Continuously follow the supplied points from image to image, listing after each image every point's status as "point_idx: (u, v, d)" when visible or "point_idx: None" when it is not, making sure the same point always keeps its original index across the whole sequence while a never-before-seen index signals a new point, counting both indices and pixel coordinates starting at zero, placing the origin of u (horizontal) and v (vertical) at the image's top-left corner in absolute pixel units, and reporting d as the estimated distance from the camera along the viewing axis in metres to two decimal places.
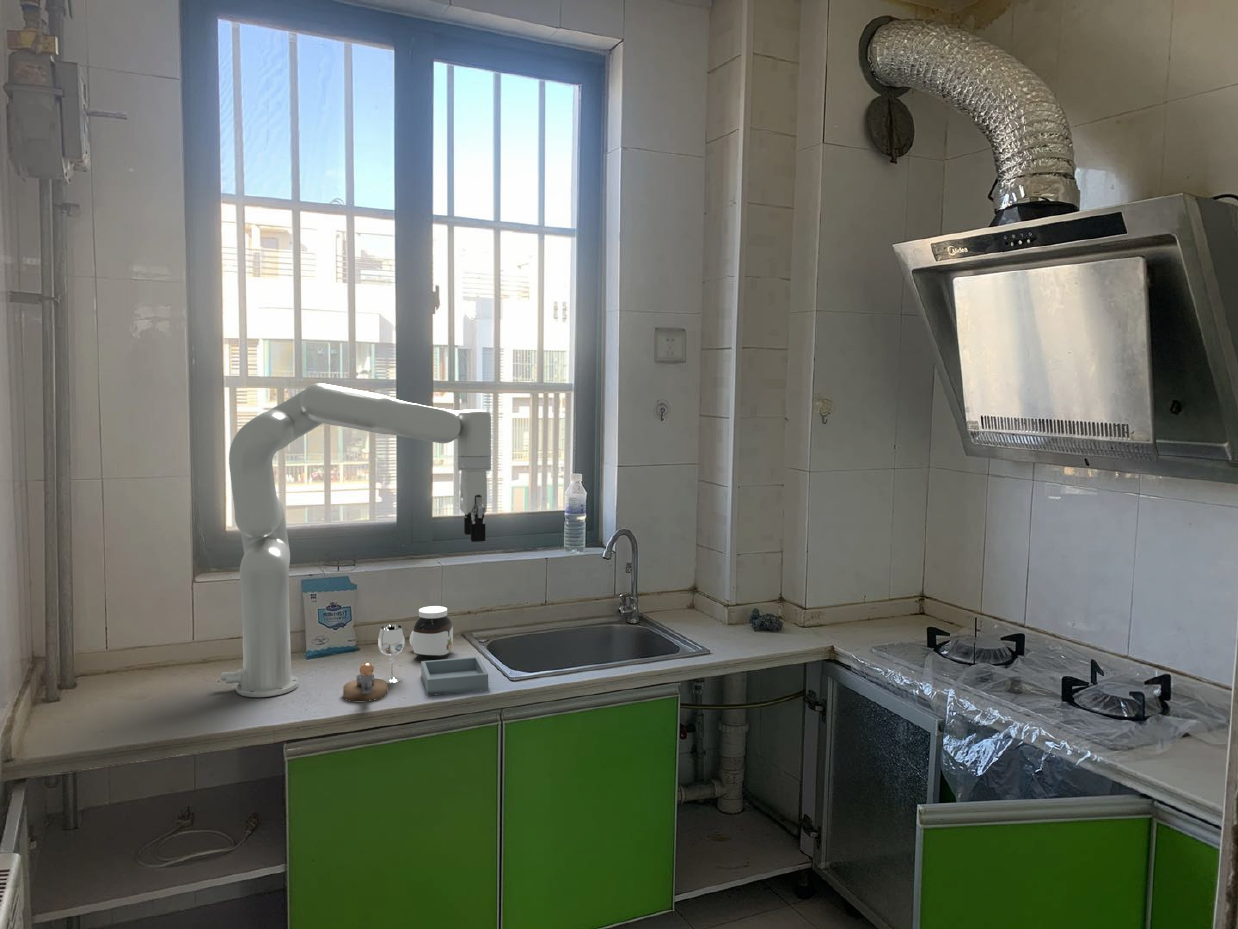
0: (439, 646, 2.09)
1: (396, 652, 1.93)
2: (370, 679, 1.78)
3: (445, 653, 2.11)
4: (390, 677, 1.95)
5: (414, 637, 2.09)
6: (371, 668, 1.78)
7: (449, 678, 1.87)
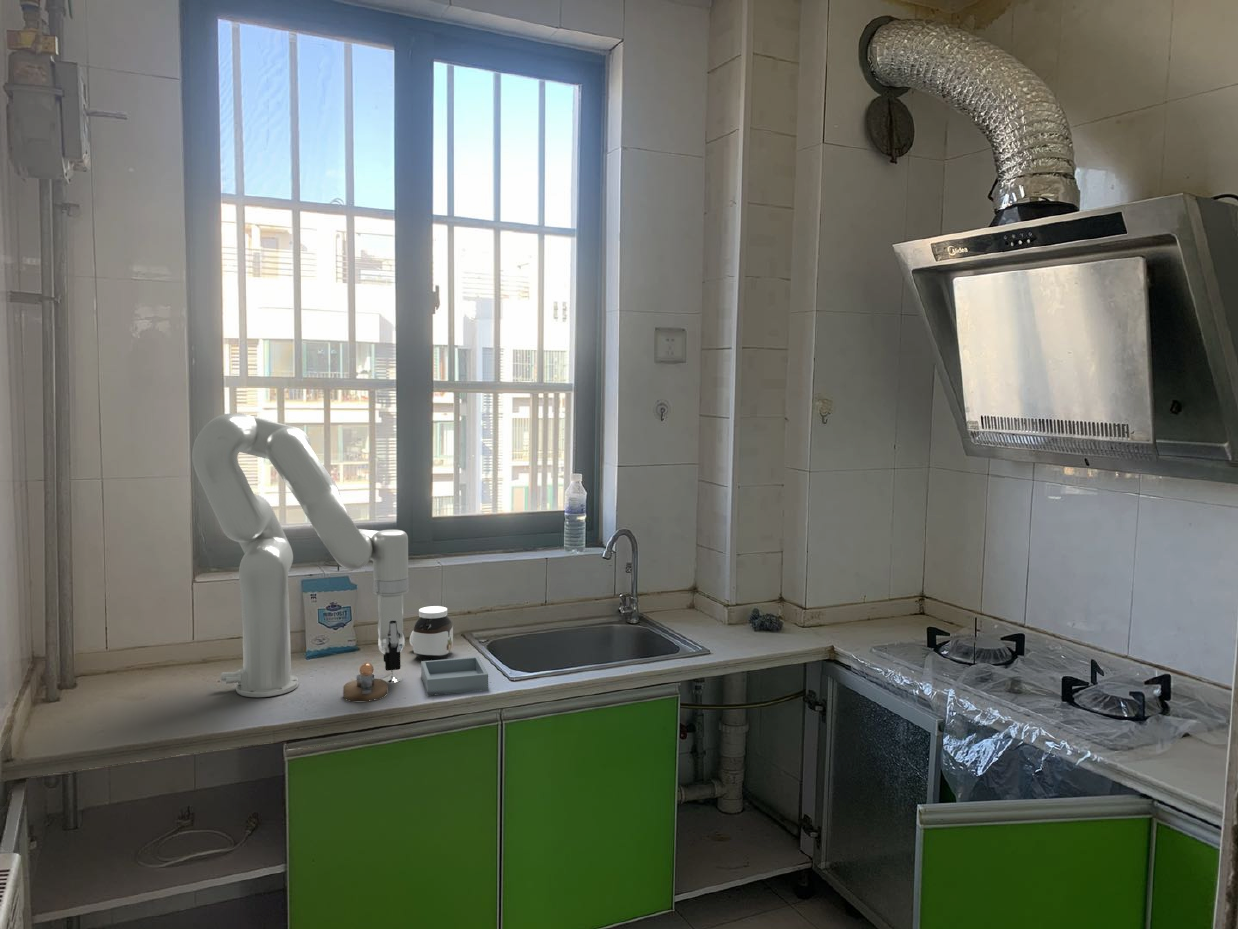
0: (439, 646, 2.09)
1: None
2: (370, 679, 1.78)
3: (445, 653, 2.11)
4: (390, 677, 1.95)
5: (414, 637, 2.09)
6: (371, 668, 1.78)
7: (449, 678, 1.87)
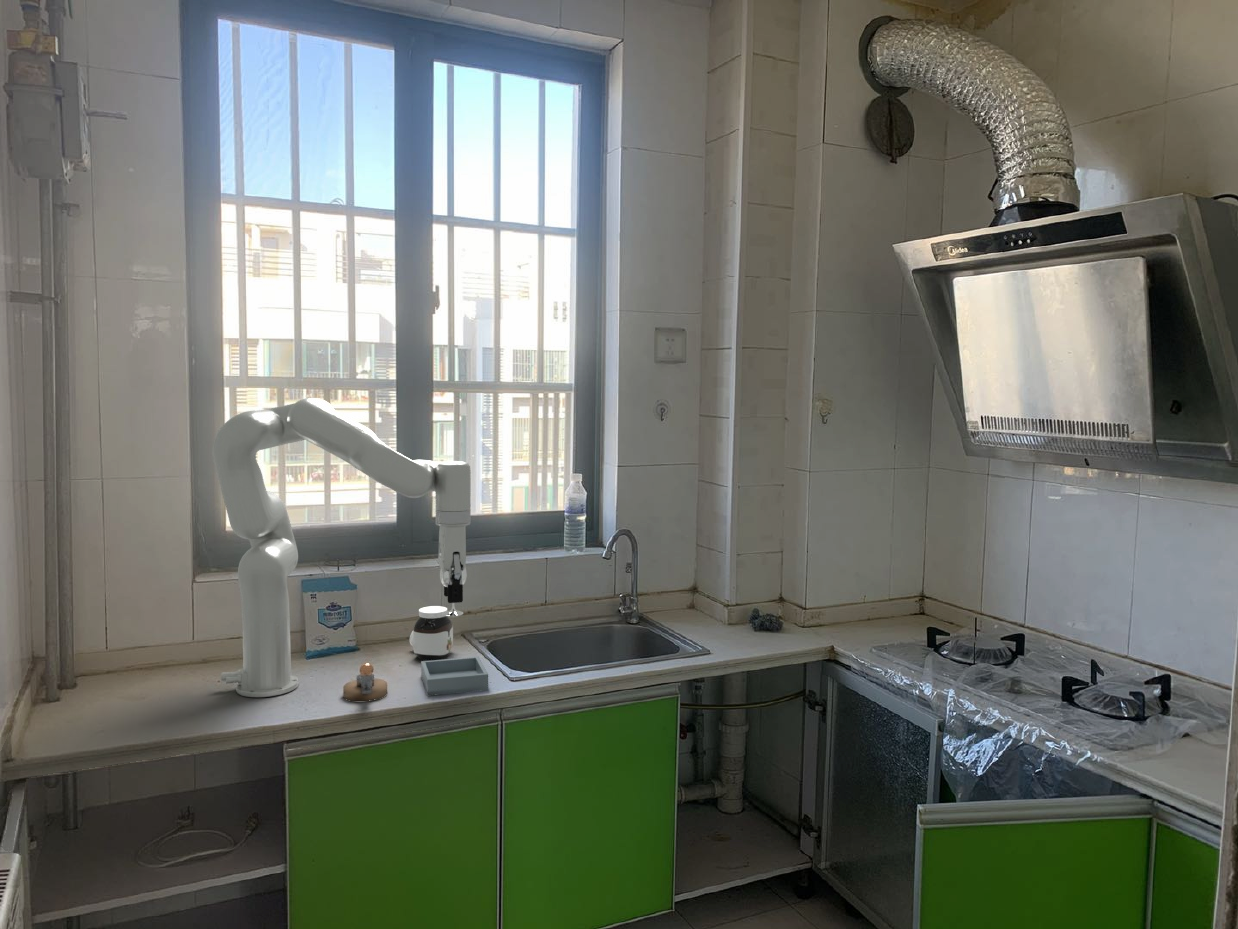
0: (439, 646, 2.09)
1: None
2: (370, 679, 1.78)
3: (445, 653, 2.11)
4: (452, 610, 1.92)
5: (414, 637, 2.09)
6: (371, 668, 1.78)
7: (449, 678, 1.87)
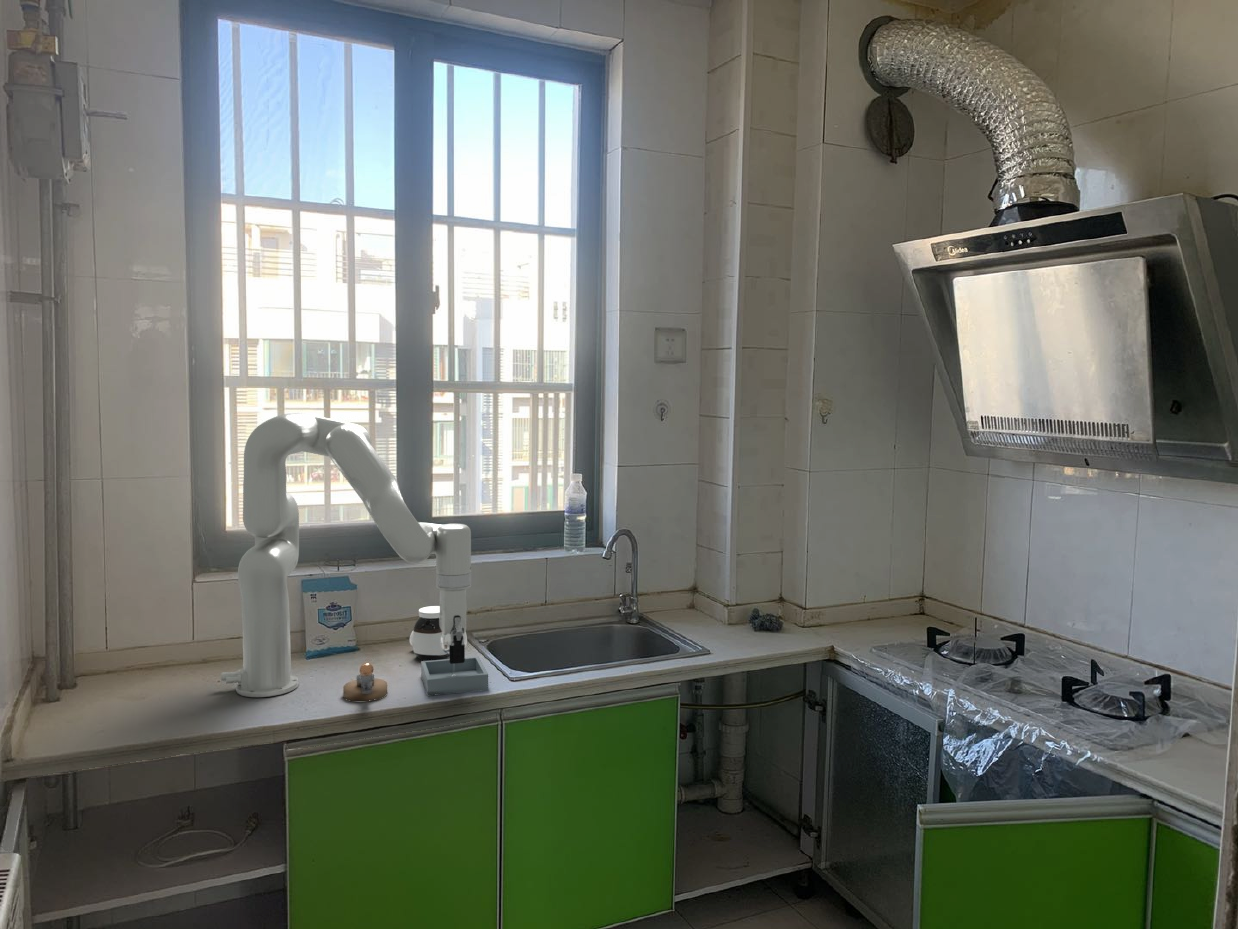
0: (439, 646, 2.09)
1: None
2: (370, 679, 1.78)
3: (445, 653, 2.11)
4: None
5: (414, 637, 2.09)
6: (371, 668, 1.78)
7: (449, 678, 1.87)
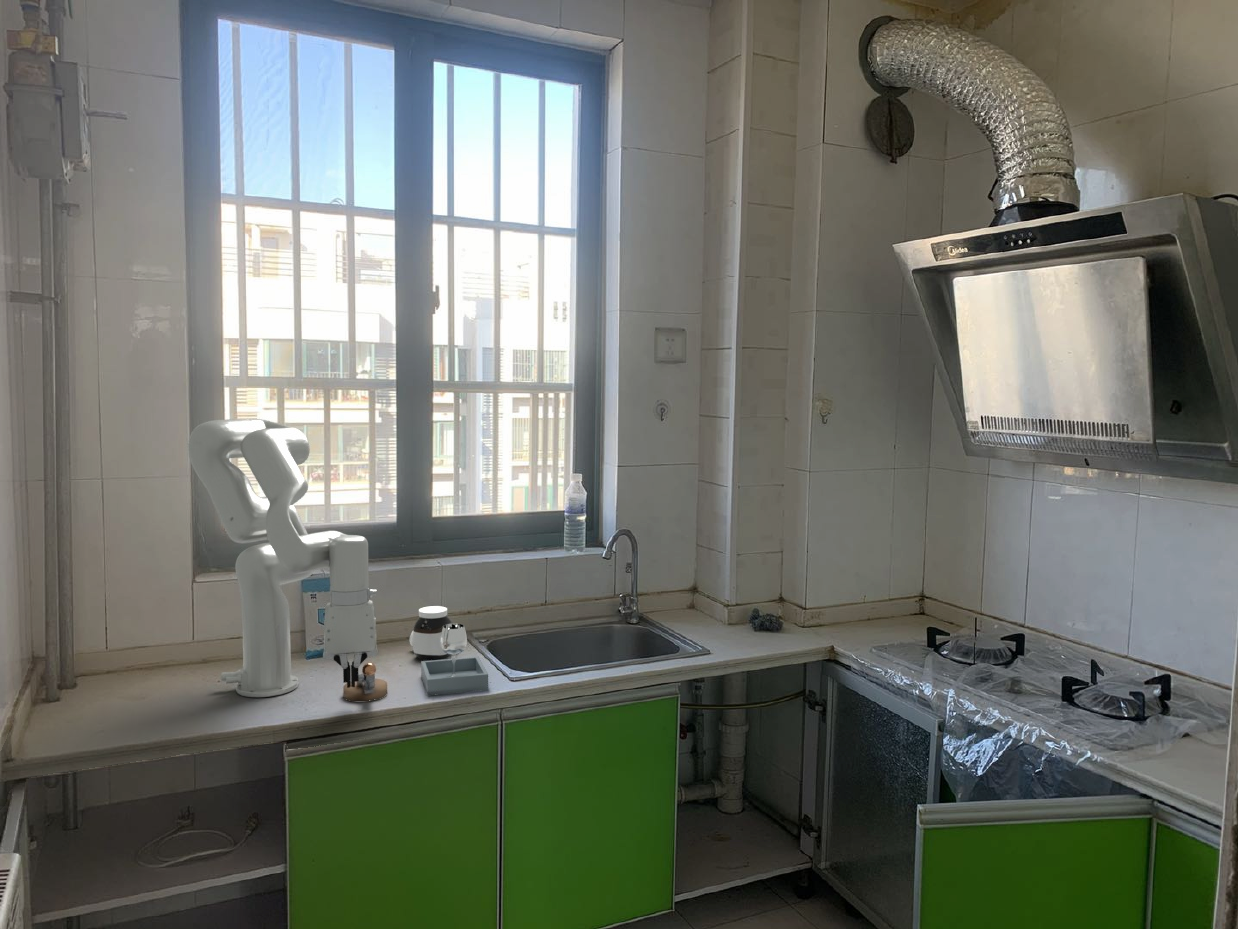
0: (439, 646, 2.09)
1: (459, 651, 1.92)
2: (373, 679, 1.79)
3: (445, 653, 2.11)
4: None
5: (414, 637, 2.09)
6: (374, 668, 1.78)
7: (449, 678, 1.87)
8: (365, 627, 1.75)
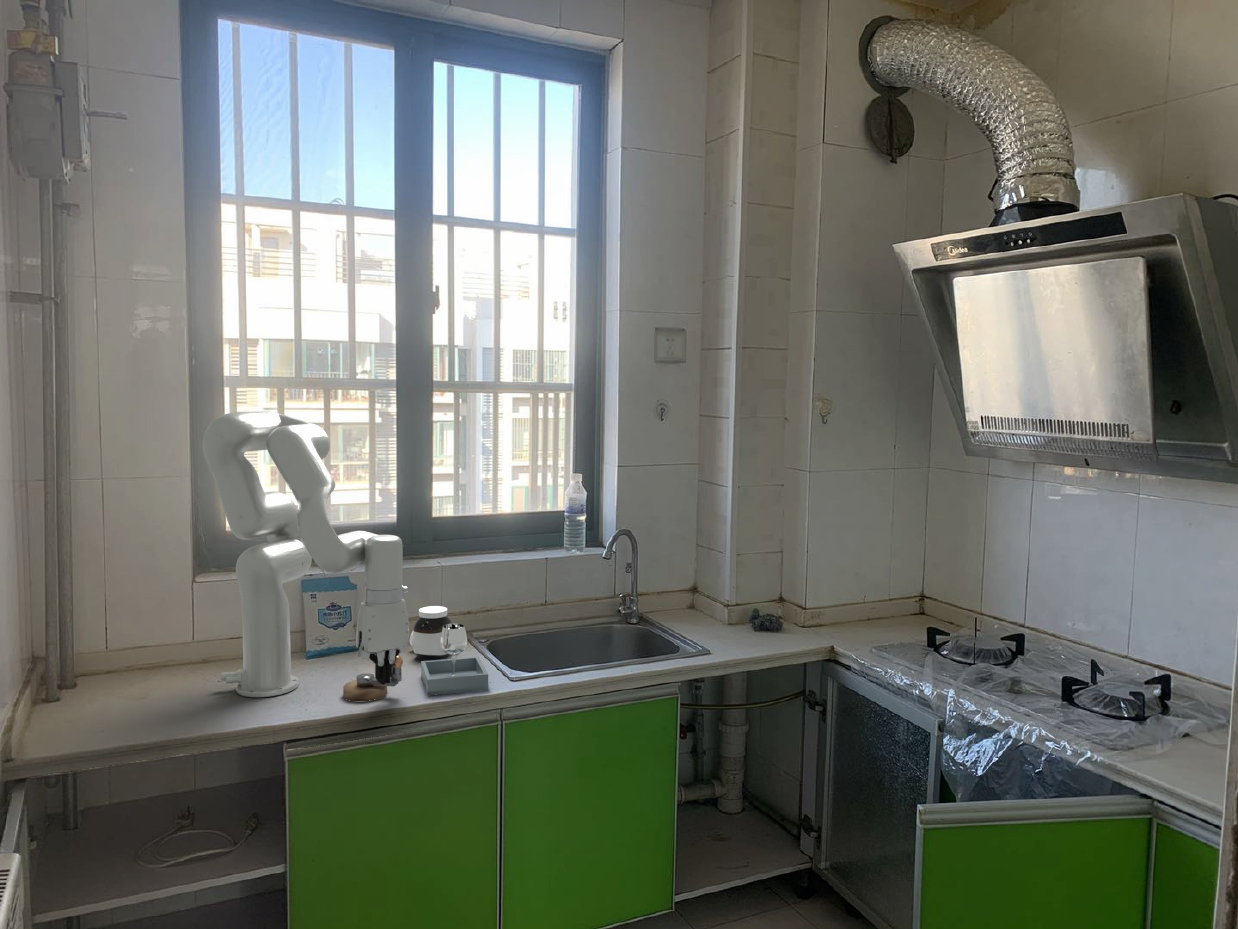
0: (439, 646, 2.09)
1: (459, 651, 1.92)
2: None
3: (445, 653, 2.11)
4: None
5: (414, 637, 2.09)
6: None
7: (449, 678, 1.87)
8: (401, 623, 1.80)
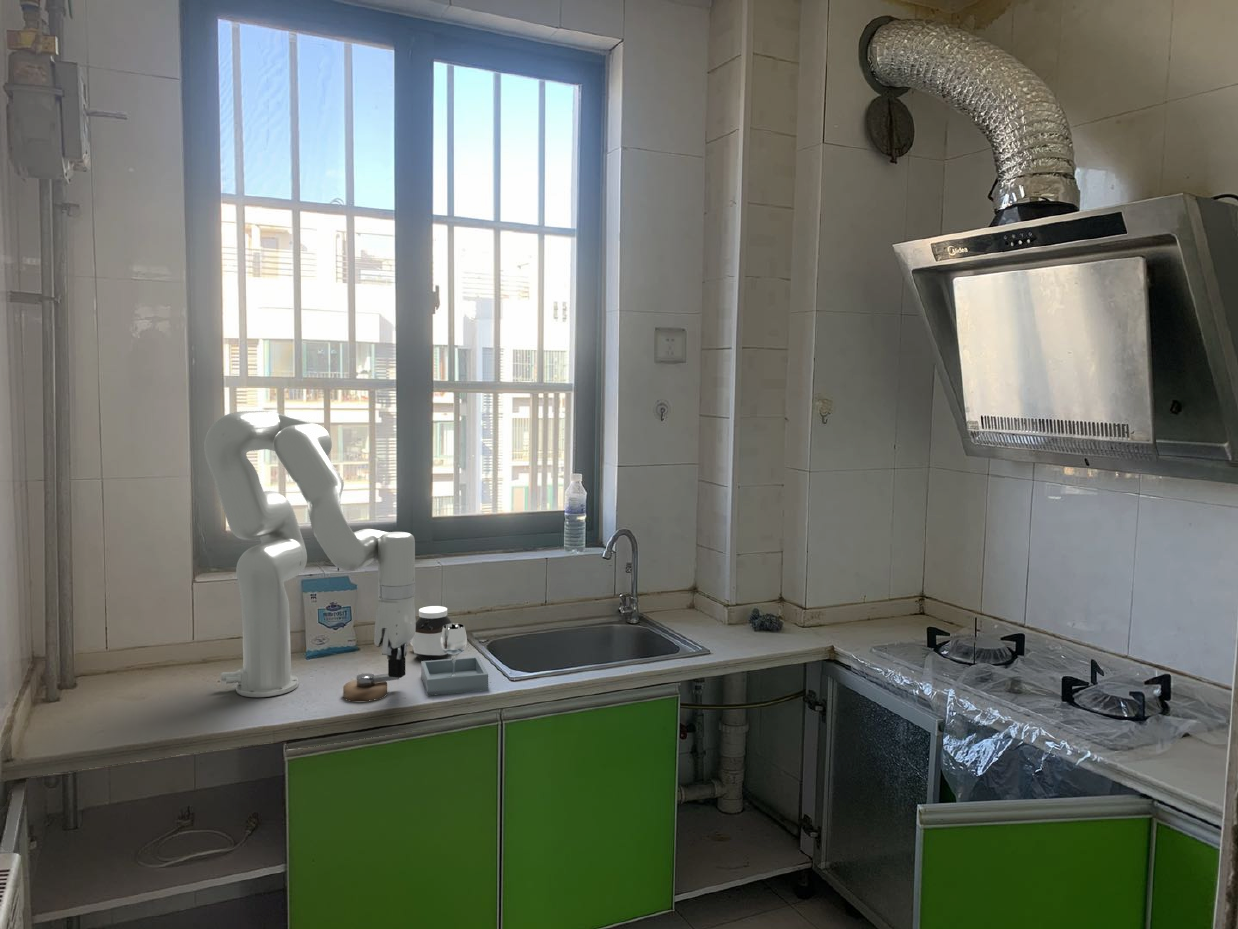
0: (439, 646, 2.09)
1: (459, 651, 1.92)
2: None
3: (445, 653, 2.11)
4: None
5: (414, 637, 2.09)
6: None
7: (449, 678, 1.87)
8: (413, 615, 1.86)
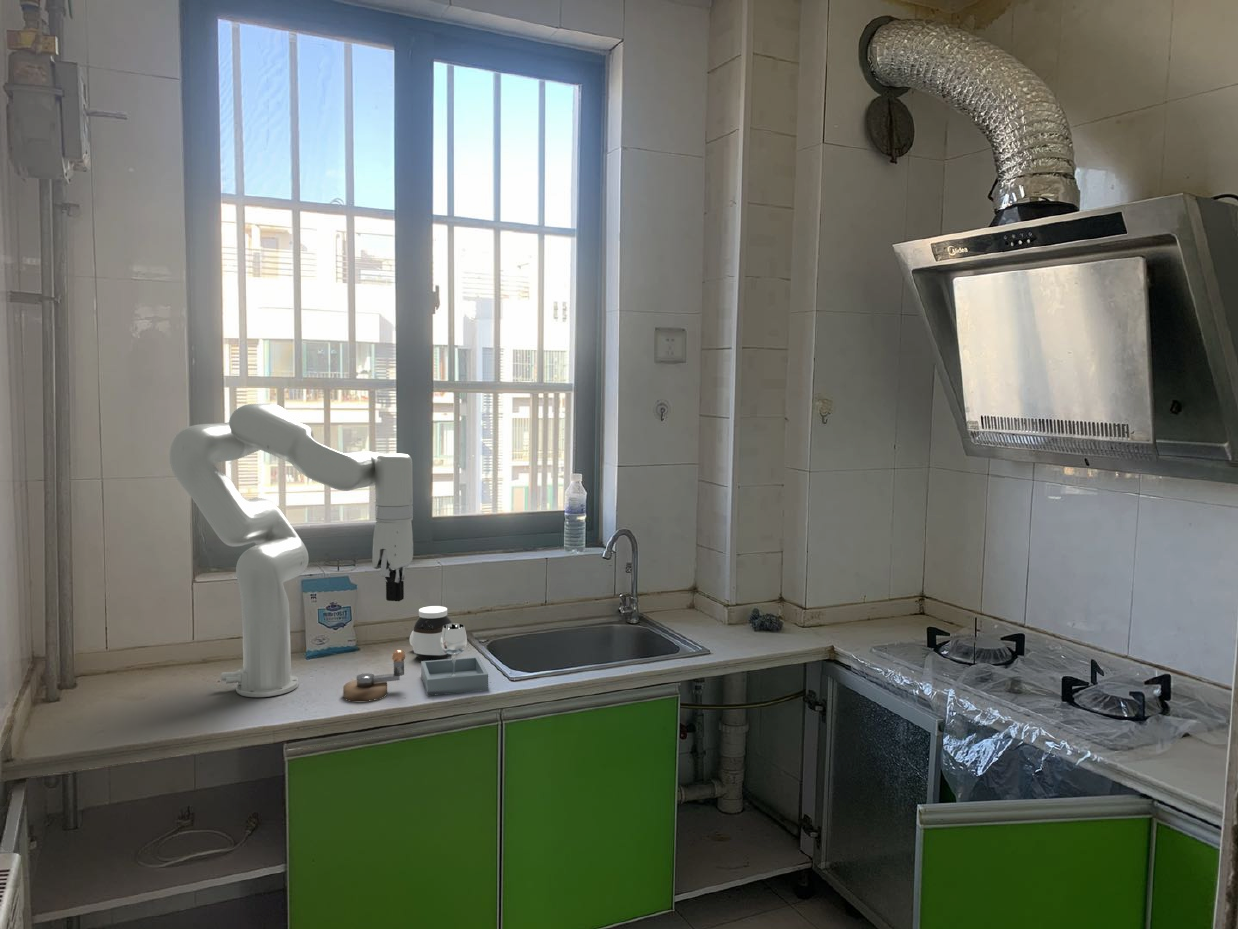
0: (439, 646, 2.09)
1: (459, 651, 1.92)
2: None
3: (445, 653, 2.11)
4: None
5: (414, 637, 2.09)
6: None
7: (449, 678, 1.87)
8: (410, 539, 1.84)
